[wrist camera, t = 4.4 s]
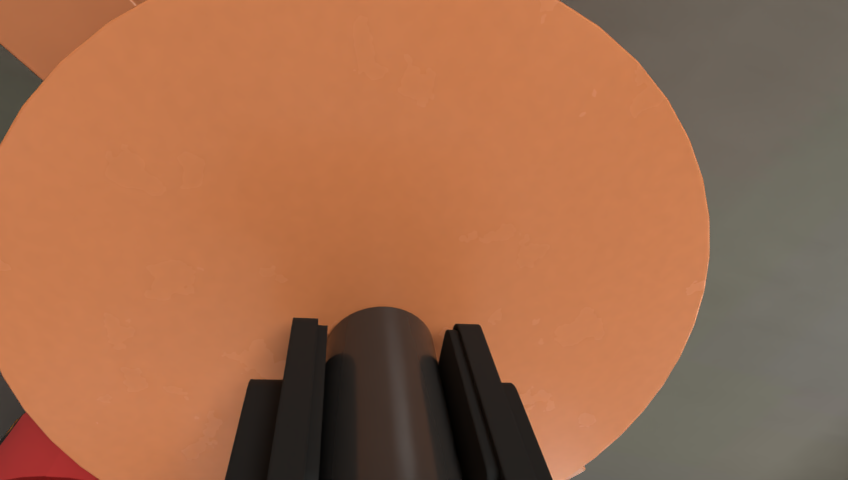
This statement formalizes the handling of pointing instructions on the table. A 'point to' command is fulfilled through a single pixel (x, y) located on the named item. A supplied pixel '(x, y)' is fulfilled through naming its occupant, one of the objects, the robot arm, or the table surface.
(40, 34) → the pot
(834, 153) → the table surface
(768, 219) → the table surface
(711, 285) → the table surface
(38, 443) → the canned food
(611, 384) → the lid
